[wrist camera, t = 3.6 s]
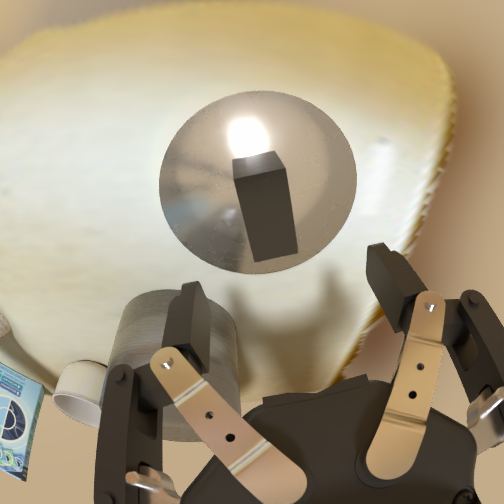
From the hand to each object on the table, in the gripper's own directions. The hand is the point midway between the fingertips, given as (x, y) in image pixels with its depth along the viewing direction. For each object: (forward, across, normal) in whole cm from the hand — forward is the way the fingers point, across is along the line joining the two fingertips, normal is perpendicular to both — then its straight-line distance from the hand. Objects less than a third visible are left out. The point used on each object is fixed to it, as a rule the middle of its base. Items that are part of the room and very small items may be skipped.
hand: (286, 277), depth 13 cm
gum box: (+10, +58, +22) cm, 63 cm away
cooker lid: (+10, 0, 0) cm, 10 cm away
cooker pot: (+10, +12, +18) cm, 24 cm away
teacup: (+10, +28, +22) cm, 37 cm away
